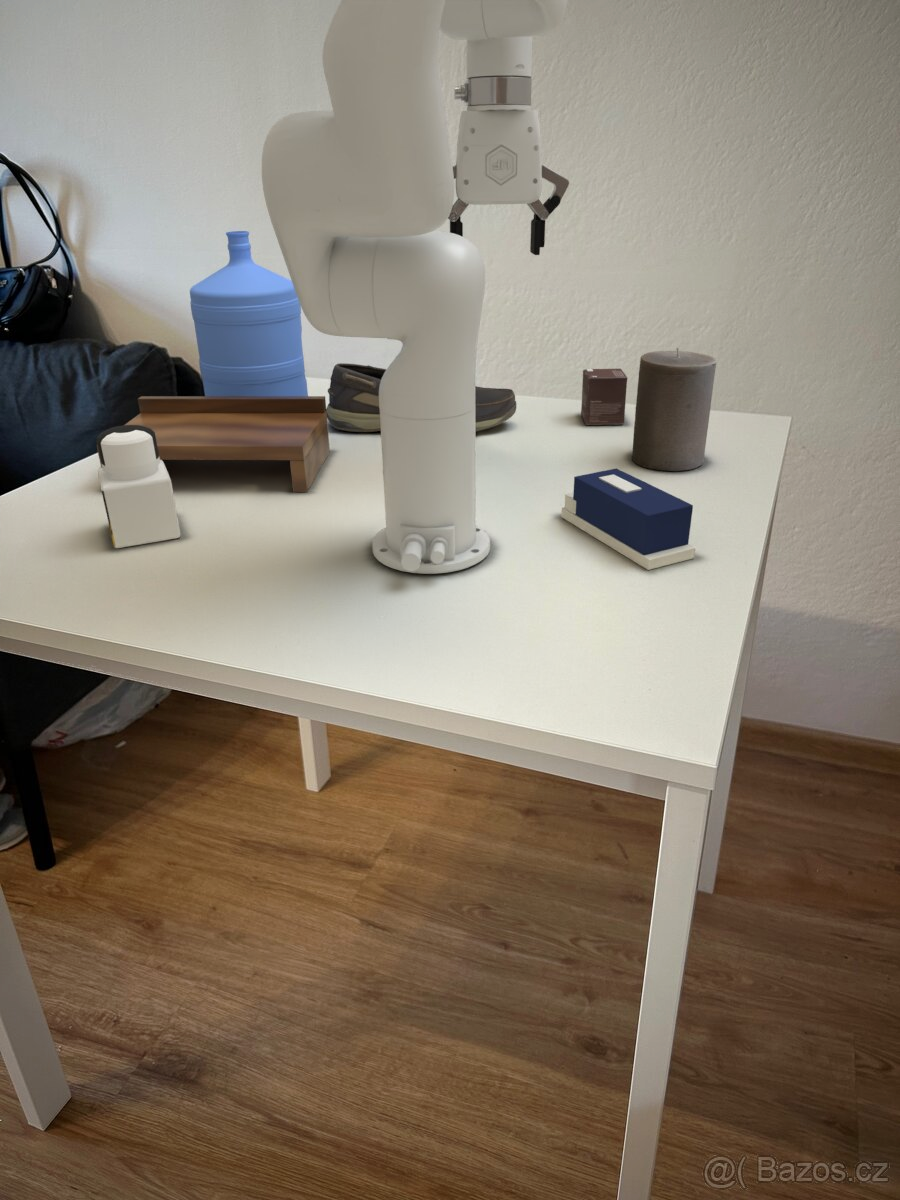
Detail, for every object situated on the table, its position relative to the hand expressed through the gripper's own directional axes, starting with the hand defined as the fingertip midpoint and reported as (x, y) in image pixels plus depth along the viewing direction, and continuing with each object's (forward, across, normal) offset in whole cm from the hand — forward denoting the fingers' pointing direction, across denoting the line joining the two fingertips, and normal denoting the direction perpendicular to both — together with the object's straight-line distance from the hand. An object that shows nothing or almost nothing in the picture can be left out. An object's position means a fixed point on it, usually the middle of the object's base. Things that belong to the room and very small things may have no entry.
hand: (497, 254), depth 108 cm
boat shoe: (+26, -10, +15) cm, 31 cm away
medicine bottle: (+27, -43, -22) cm, 55 cm away
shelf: (+26, -37, -2) cm, 45 cm away
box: (+26, +19, +15) cm, 35 cm away
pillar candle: (+26, +23, -5) cm, 35 cm away
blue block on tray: (+26, +11, -30) cm, 41 cm away
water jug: (+26, -34, +18) cm, 47 cm away
